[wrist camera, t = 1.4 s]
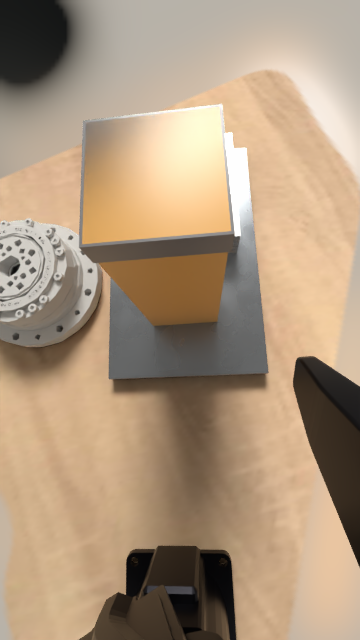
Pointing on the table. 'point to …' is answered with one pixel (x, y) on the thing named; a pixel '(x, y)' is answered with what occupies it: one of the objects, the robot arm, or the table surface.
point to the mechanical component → (44, 283)
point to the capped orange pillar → (159, 209)
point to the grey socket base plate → (200, 338)
